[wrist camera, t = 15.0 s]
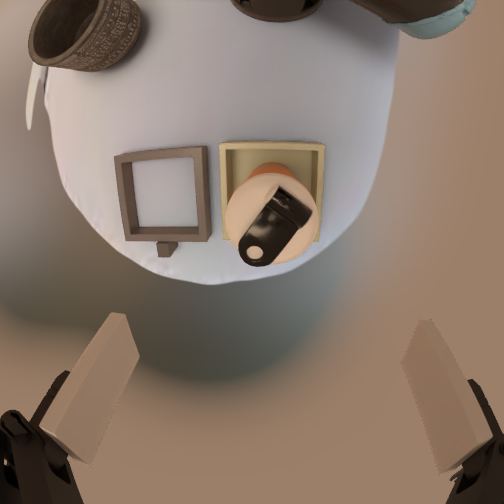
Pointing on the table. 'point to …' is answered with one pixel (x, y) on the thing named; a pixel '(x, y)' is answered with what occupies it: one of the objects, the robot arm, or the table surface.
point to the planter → (84, 33)
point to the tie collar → (164, 235)
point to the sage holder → (259, 152)
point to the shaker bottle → (271, 216)
